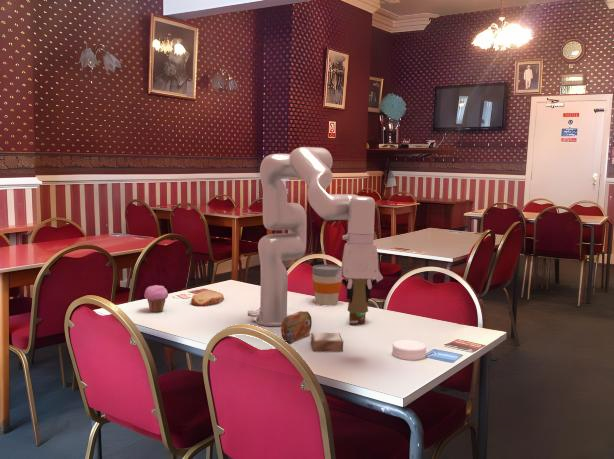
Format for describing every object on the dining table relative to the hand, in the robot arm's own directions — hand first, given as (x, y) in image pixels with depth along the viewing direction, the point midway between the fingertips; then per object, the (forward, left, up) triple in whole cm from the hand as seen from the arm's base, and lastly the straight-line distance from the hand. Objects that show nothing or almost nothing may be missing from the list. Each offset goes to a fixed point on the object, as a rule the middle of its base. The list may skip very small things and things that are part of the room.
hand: (358, 300), depth 172 cm
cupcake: (-68, +55, -17) cm, 89 cm away
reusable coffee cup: (-2, +68, -17) cm, 71 cm away
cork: (0, 0, -3) cm, 3 cm away
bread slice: (-51, +73, -17) cm, 90 cm away
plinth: (-8, +10, -17) cm, 21 cm away
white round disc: (+16, +2, -17) cm, 24 cm away
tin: (-17, +19, -17) cm, 30 cm away
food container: (+7, +39, -17) cm, 43 cm away
